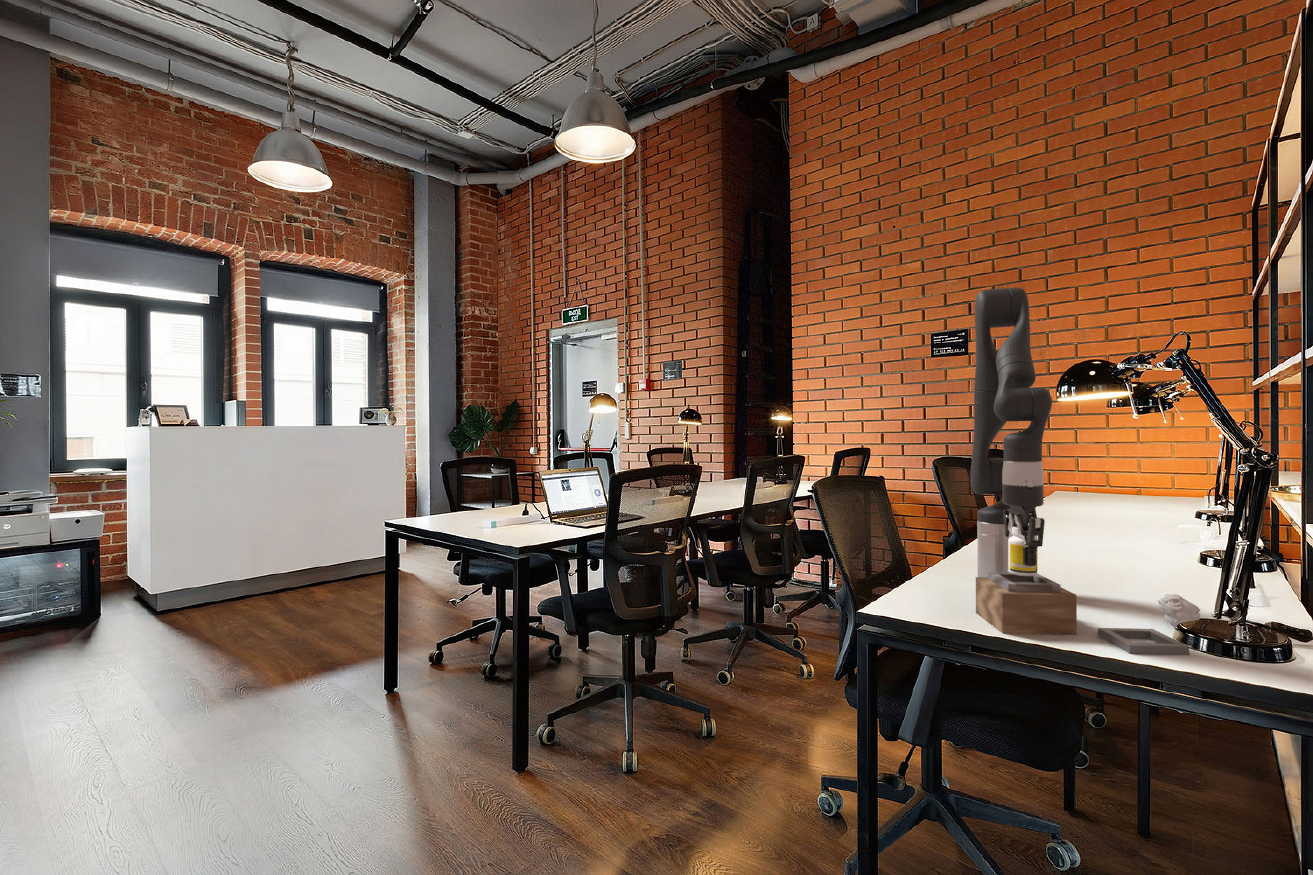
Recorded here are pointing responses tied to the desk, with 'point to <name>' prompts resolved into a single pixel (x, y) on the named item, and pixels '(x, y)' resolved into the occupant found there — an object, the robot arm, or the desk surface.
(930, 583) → the desk surface
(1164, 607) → the frog figurine
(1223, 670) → the desk surface
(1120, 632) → the frame
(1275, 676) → the desk surface
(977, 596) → the walnut stand
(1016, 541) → the supplement bottle
